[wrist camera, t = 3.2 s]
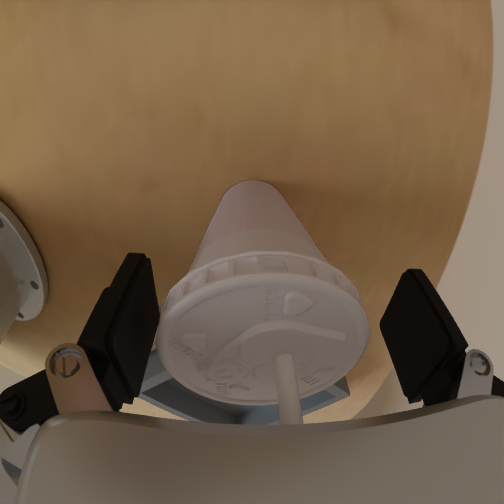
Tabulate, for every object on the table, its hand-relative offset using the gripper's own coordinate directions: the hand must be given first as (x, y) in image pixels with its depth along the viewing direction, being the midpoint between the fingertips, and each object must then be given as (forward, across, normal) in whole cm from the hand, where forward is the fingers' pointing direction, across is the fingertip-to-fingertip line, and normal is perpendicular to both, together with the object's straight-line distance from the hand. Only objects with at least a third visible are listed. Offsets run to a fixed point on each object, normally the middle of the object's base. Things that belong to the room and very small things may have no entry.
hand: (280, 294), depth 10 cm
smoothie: (+7, +1, 0) cm, 7 cm away
